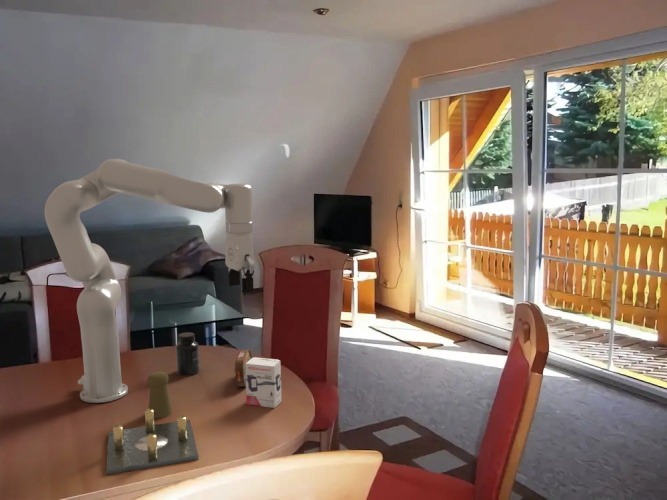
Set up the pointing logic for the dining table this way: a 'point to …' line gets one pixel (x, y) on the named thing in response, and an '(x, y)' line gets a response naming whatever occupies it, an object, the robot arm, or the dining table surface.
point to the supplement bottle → (187, 355)
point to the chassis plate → (141, 456)
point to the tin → (242, 367)
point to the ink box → (263, 382)
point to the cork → (159, 394)
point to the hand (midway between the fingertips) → (240, 288)
